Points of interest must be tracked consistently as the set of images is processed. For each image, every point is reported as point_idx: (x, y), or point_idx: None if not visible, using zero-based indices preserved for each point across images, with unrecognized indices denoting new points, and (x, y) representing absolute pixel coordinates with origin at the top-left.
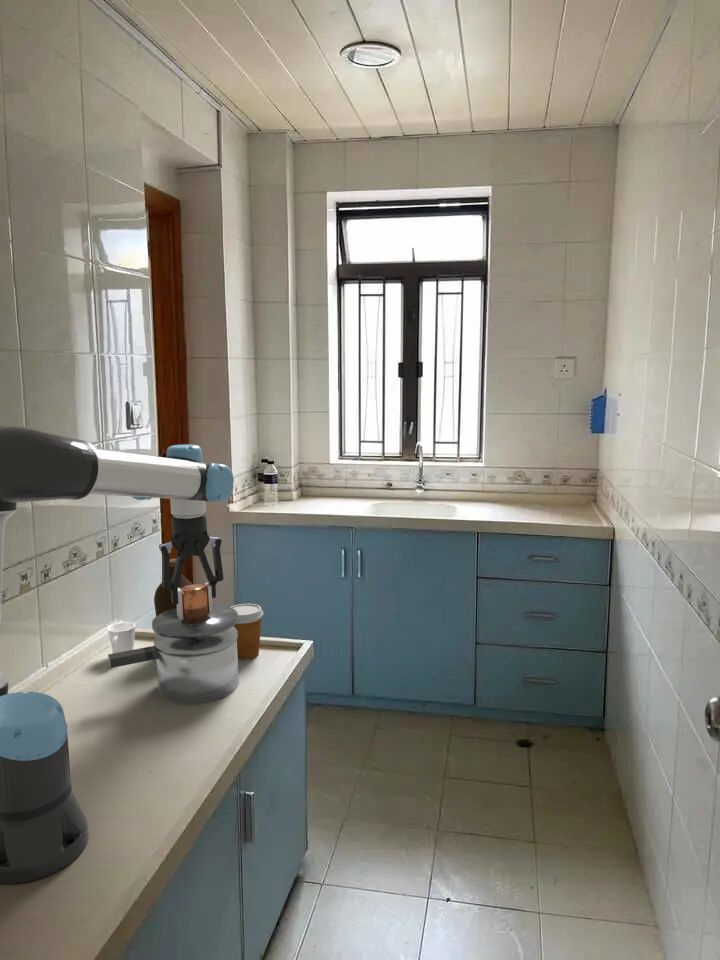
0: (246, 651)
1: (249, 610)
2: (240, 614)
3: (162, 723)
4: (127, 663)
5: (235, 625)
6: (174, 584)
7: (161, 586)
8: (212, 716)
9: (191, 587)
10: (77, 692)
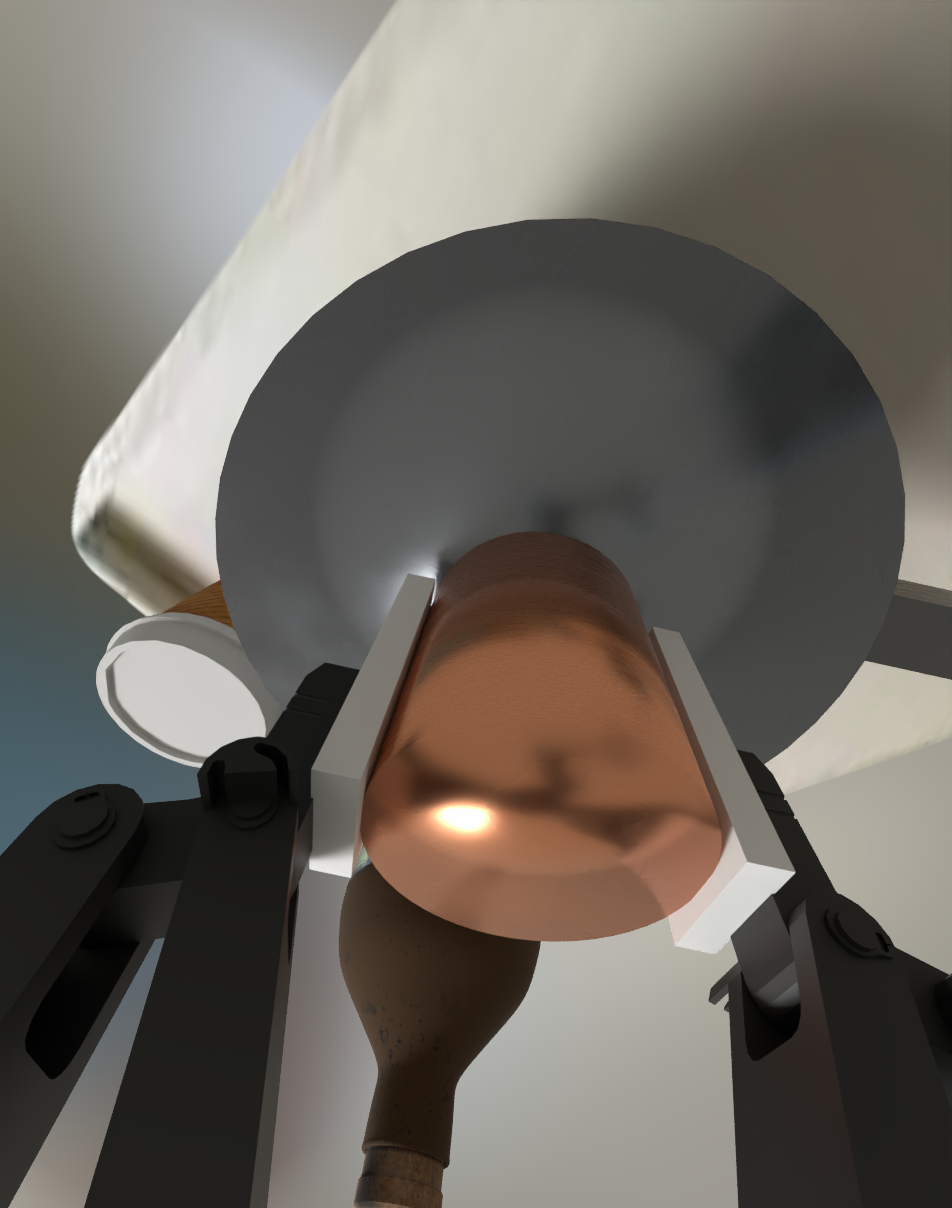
0: None
1: (160, 691)
2: (213, 678)
3: (852, 228)
4: (911, 585)
5: None
6: (902, 1022)
7: (505, 1016)
8: (653, 114)
9: (531, 883)
10: (846, 694)
